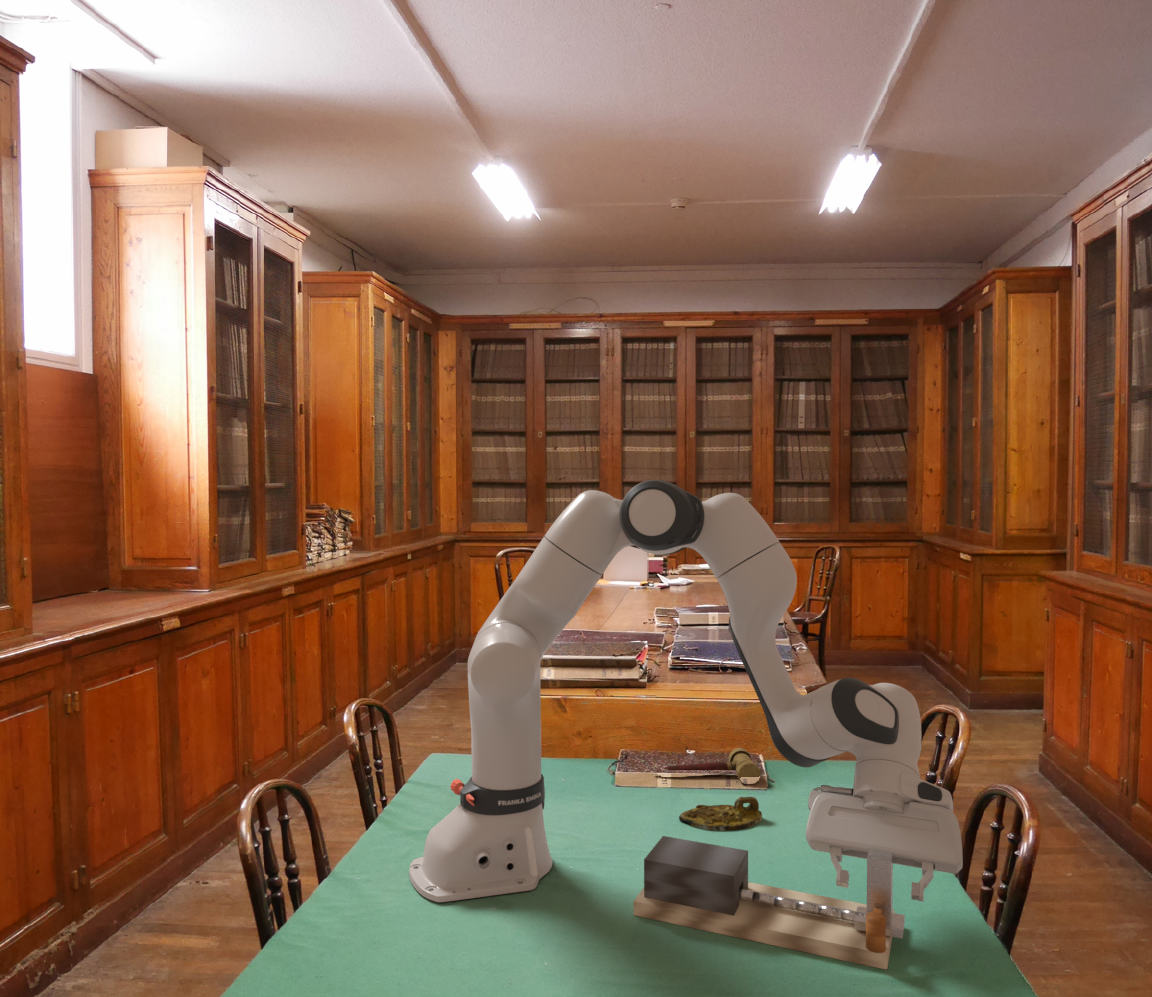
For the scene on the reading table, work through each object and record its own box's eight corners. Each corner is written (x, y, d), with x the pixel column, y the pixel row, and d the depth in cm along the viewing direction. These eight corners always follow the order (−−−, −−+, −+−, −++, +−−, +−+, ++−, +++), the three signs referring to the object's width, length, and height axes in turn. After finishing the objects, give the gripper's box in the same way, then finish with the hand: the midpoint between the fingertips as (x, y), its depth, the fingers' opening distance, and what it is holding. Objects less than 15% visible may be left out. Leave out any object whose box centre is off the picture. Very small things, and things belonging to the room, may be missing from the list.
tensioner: (633, 915, 124) (632, 863, 124) (660, 878, 135) (660, 830, 135) (887, 970, 110) (887, 912, 110) (894, 923, 121) (894, 870, 121)
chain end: (729, 903, 123) (729, 835, 122) (735, 890, 126) (735, 824, 126) (902, 938, 113) (903, 865, 113) (904, 923, 117) (905, 852, 117)
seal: (685, 840, 152) (769, 834, 154) (686, 814, 151) (770, 809, 153) (673, 813, 161) (752, 808, 163) (674, 789, 160) (753, 784, 162)
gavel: (655, 771, 174) (650, 754, 184) (657, 793, 174) (651, 776, 184) (760, 762, 174) (749, 746, 184) (761, 785, 174) (750, 768, 184)
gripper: (808, 773, 126) (796, 868, 118) (963, 793, 118) (962, 898, 109) (813, 792, 131) (801, 886, 122) (963, 814, 122) (962, 916, 114)
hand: (879, 892), depth 116 cm, fingers open, 8 cm apart
